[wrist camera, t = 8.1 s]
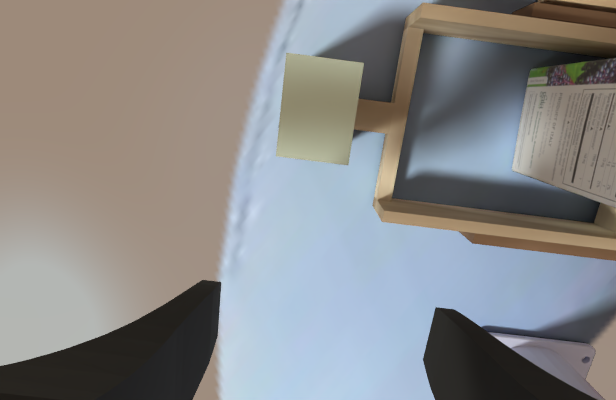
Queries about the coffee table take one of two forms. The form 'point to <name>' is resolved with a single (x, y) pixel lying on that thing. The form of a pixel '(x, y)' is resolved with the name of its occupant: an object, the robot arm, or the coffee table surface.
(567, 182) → the syrup box
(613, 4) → the wooden bar
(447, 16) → the wooden slotted tray
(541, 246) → the lane board
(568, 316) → the coffee table surface
